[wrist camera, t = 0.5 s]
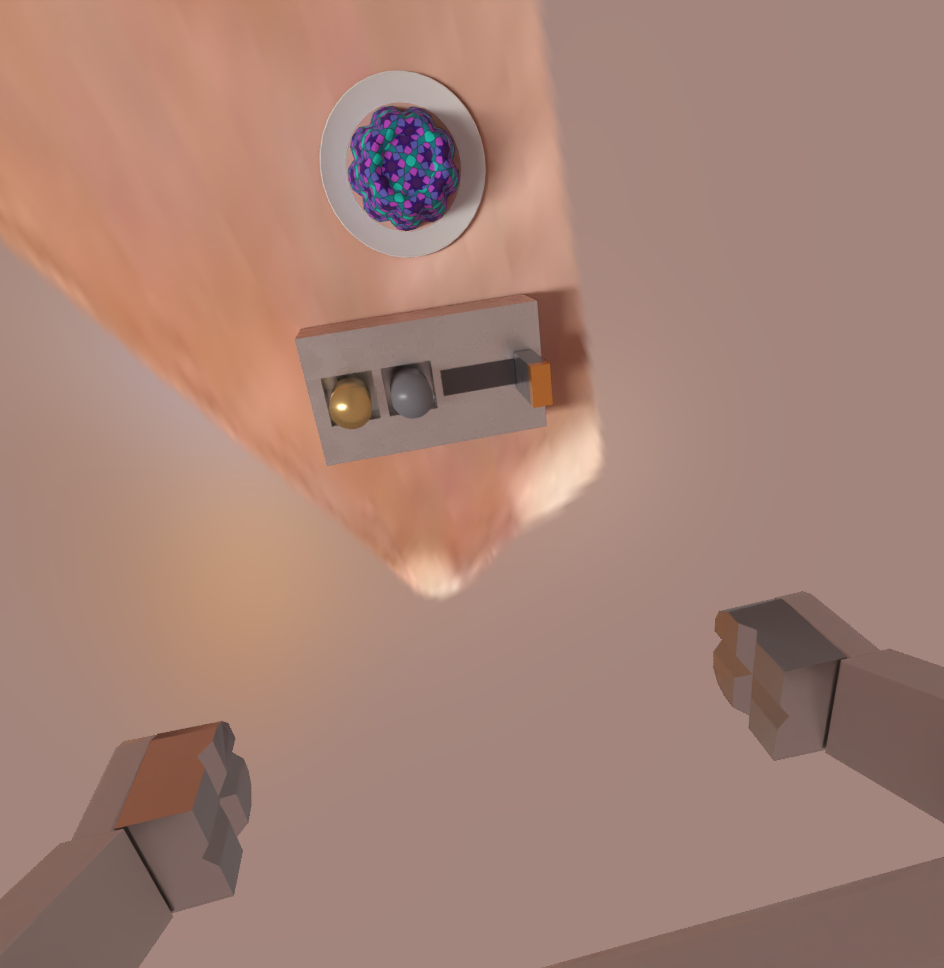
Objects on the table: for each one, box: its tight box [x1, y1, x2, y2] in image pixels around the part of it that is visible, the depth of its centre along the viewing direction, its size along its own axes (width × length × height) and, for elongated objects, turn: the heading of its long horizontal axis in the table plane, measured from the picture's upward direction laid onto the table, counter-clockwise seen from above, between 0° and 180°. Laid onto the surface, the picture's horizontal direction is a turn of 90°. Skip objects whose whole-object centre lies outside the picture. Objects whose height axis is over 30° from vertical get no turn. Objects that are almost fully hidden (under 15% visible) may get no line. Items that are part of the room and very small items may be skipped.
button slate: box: [390, 367, 433, 419], centre depth 44 cm, size 3×3×4 cm
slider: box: [514, 349, 553, 408], centre depth 44 cm, size 3×1×5 cm, turn 7°
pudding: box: [320, 70, 486, 258], centre depth 41 cm, size 12×12×5 cm
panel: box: [295, 294, 547, 466], centre depth 47 cm, size 10×18×5 cm, turn 97°
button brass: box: [329, 377, 372, 429], centre depth 44 cm, size 3×3×4 cm
